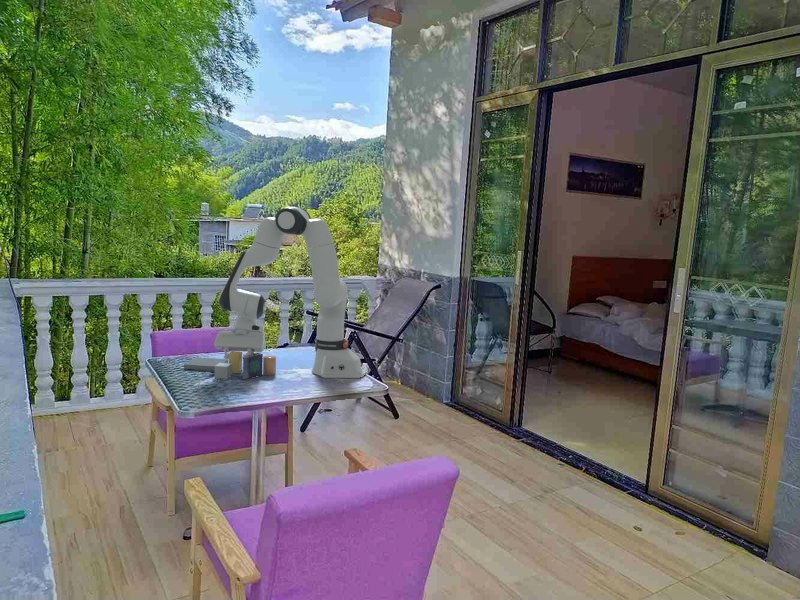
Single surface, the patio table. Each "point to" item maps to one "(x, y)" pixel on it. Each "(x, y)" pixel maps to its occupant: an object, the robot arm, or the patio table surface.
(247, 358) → the flask
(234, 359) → the ochre block
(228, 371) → the grey block
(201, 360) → the slate tile
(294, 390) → the patio table surface
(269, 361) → the brown upright cylinder
